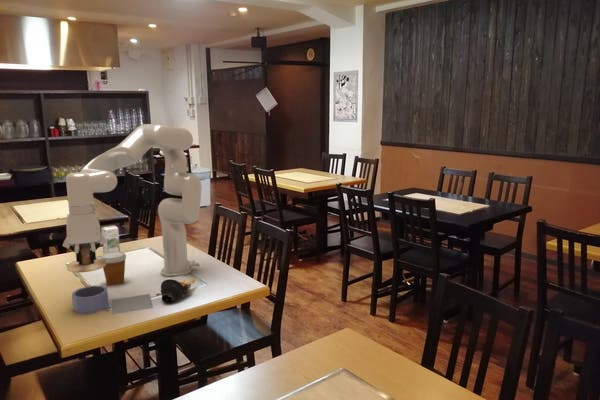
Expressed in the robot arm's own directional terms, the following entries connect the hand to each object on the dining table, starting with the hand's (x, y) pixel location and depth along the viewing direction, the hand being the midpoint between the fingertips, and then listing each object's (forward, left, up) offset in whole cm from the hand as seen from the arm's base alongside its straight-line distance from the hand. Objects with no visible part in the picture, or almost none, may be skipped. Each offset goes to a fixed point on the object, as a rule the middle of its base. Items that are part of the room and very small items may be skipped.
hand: (86, 262), depth 153 cm
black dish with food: (-30, +2, -17) cm, 35 cm away
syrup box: (-7, -57, -17) cm, 60 cm away
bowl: (0, 0, -17) cm, 17 cm away
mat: (-13, +3, -17) cm, 21 cm away
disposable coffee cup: (-8, -21, -17) cm, 28 cm away
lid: (0, 0, -1) cm, 1 cm away
